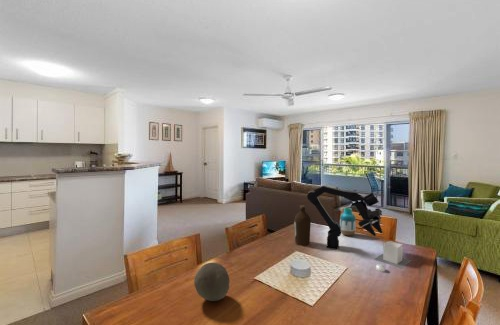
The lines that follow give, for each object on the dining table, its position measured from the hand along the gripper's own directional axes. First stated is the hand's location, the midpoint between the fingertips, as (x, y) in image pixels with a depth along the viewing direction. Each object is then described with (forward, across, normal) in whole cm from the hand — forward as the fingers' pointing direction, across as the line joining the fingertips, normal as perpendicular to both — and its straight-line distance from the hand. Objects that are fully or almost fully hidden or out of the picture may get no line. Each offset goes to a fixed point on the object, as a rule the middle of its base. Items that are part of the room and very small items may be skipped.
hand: (378, 234), depth 143 cm
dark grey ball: (-2, -94, +35) cm, 100 cm away
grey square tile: (+15, +1, +2) cm, 15 cm away
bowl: (+16, -16, +2) cm, 23 cm away
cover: (+15, +1, +1) cm, 15 cm away
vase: (-9, +22, +30) cm, 38 cm away
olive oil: (-14, -15, +42) cm, 47 cm away
